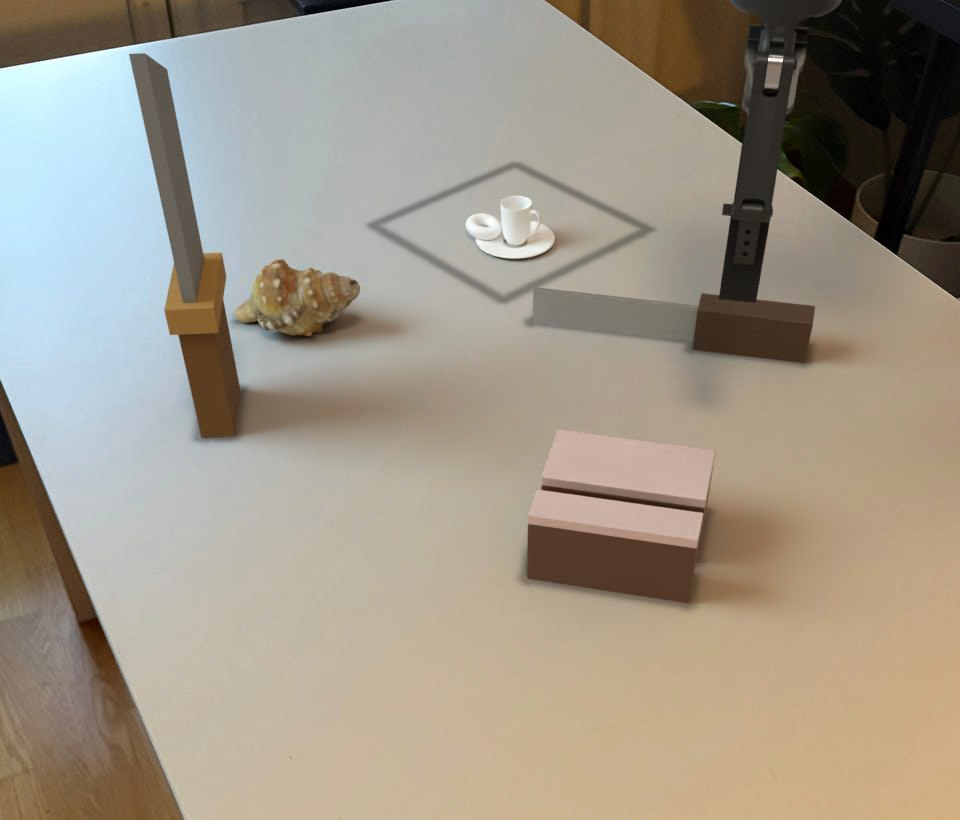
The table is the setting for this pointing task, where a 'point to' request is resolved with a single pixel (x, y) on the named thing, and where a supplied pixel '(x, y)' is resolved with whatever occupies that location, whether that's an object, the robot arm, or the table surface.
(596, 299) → the cake knife
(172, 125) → the knife
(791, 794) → the table surface
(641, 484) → the cake
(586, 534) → the cake slice
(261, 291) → the seashell
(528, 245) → the teacup and saucer
